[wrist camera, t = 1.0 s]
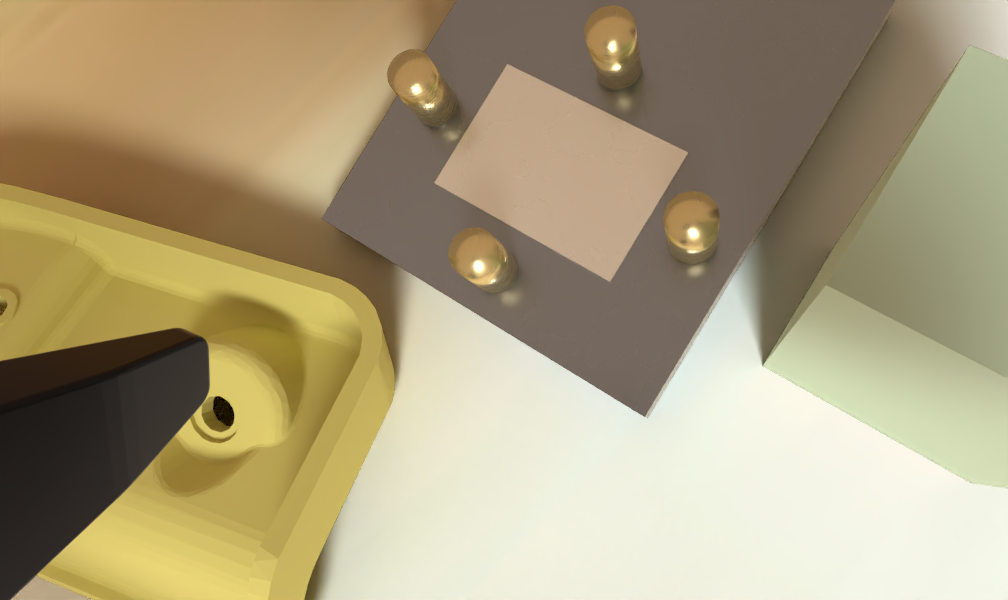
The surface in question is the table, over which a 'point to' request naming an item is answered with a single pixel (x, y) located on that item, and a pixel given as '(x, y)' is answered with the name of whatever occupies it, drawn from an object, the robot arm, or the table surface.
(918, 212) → the board block
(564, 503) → the table surface
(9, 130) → the table surface
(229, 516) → the plastic component
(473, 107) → the chassis
